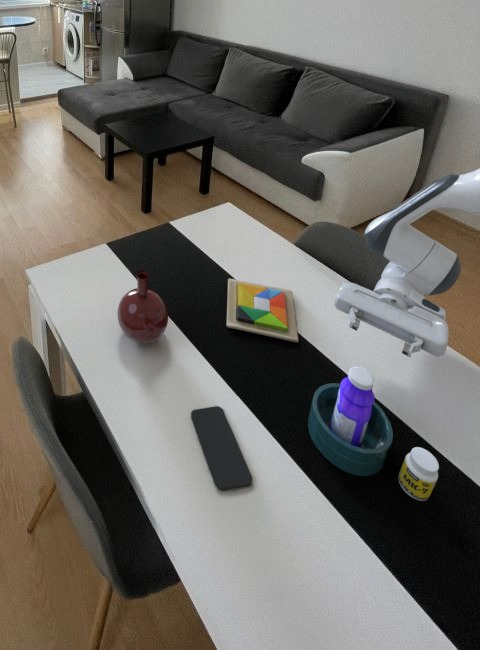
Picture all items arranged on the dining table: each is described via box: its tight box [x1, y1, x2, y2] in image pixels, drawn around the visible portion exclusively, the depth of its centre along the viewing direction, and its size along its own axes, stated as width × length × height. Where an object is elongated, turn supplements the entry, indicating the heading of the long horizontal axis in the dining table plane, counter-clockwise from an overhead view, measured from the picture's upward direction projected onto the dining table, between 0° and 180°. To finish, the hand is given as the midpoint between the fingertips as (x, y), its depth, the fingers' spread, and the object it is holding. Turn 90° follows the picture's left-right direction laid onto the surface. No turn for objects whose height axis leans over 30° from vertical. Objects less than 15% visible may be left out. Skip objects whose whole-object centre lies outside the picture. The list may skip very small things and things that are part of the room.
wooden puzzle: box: [226, 278, 299, 343], centre depth 118 cm, size 18×19×4 cm
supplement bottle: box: [397, 446, 440, 502], centre depth 78 cm, size 5×5×8 cm
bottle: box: [331, 366, 376, 448], centre depth 84 cm, size 7×6×17 cm
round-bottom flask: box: [116, 269, 169, 344], centre depth 110 cm, size 13×13×20 cm
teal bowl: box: [307, 382, 394, 477], centre depth 86 cm, size 14×14×7 cm
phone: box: [190, 405, 253, 492], centre depth 87 cm, size 7×1×15 cm
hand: (379, 339), depth 89 cm, fingers open, 8 cm apart
